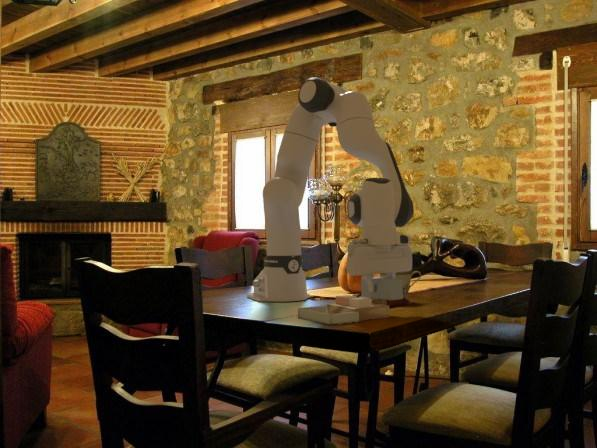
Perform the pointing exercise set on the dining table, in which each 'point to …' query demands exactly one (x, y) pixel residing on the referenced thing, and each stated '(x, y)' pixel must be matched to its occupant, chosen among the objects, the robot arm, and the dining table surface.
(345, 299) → the tile
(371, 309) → the pale flat square block
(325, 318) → the tray
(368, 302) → the tile
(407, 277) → the ceramic cup
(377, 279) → the small grey box
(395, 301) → the gavel
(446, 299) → the dining table surface
